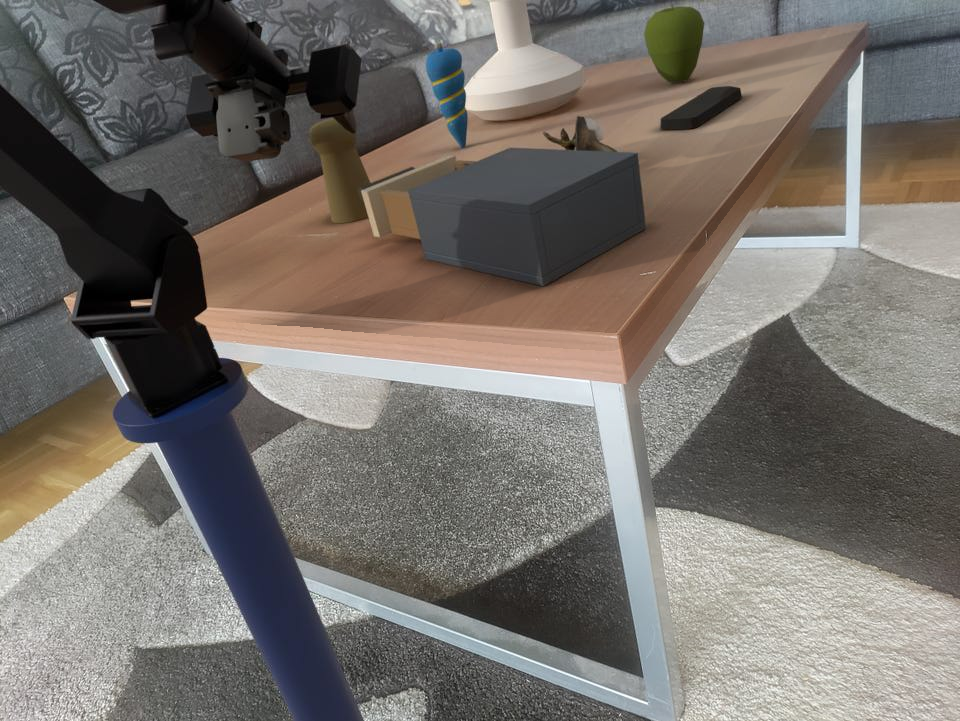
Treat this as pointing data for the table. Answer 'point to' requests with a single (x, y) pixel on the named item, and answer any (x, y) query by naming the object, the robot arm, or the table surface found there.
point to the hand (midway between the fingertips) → (318, 135)
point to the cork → (340, 170)
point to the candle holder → (520, 71)
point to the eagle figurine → (582, 137)
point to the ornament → (449, 89)
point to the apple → (675, 41)
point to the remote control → (701, 108)
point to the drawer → (401, 196)
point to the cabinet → (530, 211)
